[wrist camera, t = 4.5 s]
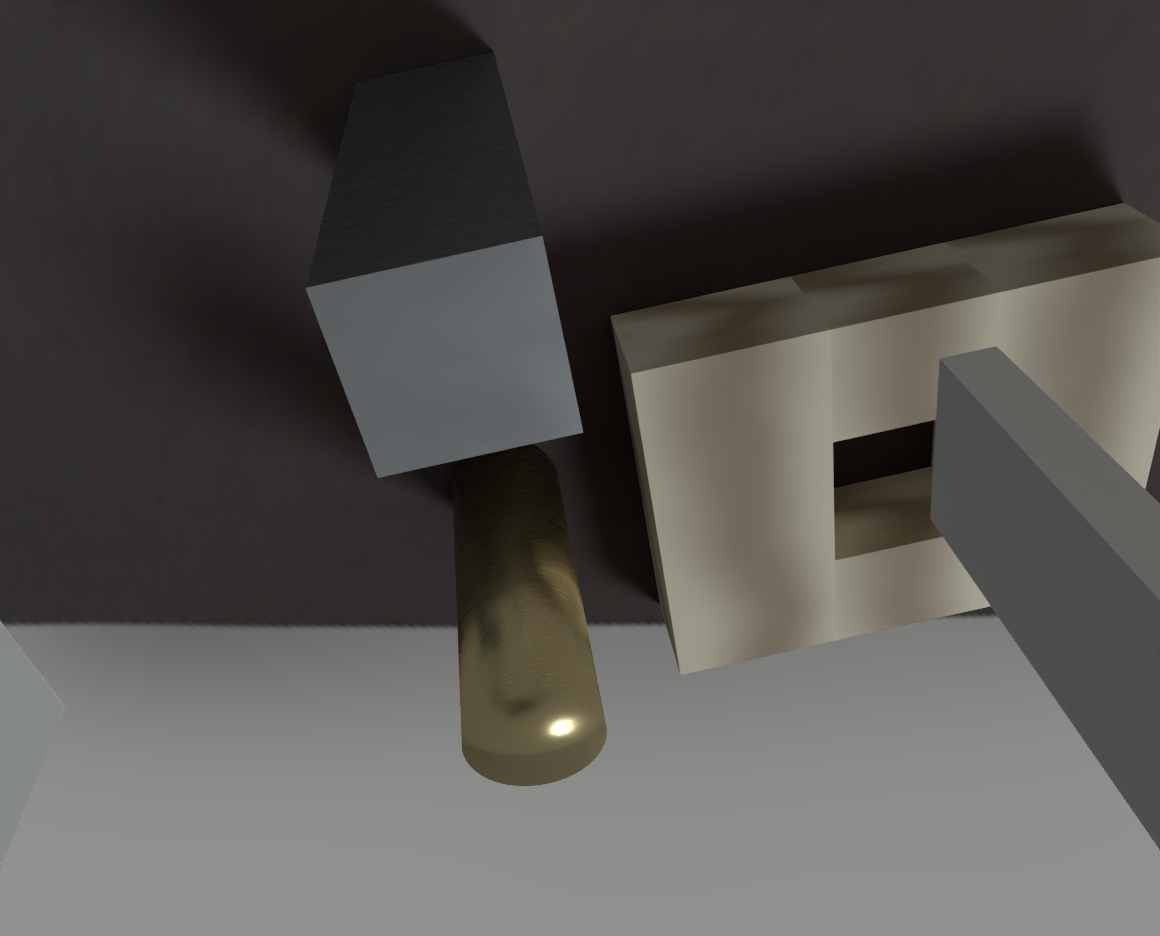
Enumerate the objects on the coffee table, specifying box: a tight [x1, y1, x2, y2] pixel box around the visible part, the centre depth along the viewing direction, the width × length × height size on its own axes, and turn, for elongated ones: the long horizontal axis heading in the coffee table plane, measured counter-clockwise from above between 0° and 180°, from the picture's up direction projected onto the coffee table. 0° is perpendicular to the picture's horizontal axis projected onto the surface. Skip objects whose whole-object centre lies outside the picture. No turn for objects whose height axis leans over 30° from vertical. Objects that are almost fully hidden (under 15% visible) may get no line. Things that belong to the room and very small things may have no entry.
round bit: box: [452, 444, 607, 786], centre depth 31 cm, size 4×4×12 cm
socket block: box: [611, 203, 1160, 675], centre depth 35 cm, size 18×14×4 cm
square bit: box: [306, 51, 583, 478], centre depth 22 cm, size 4×4×14 cm
